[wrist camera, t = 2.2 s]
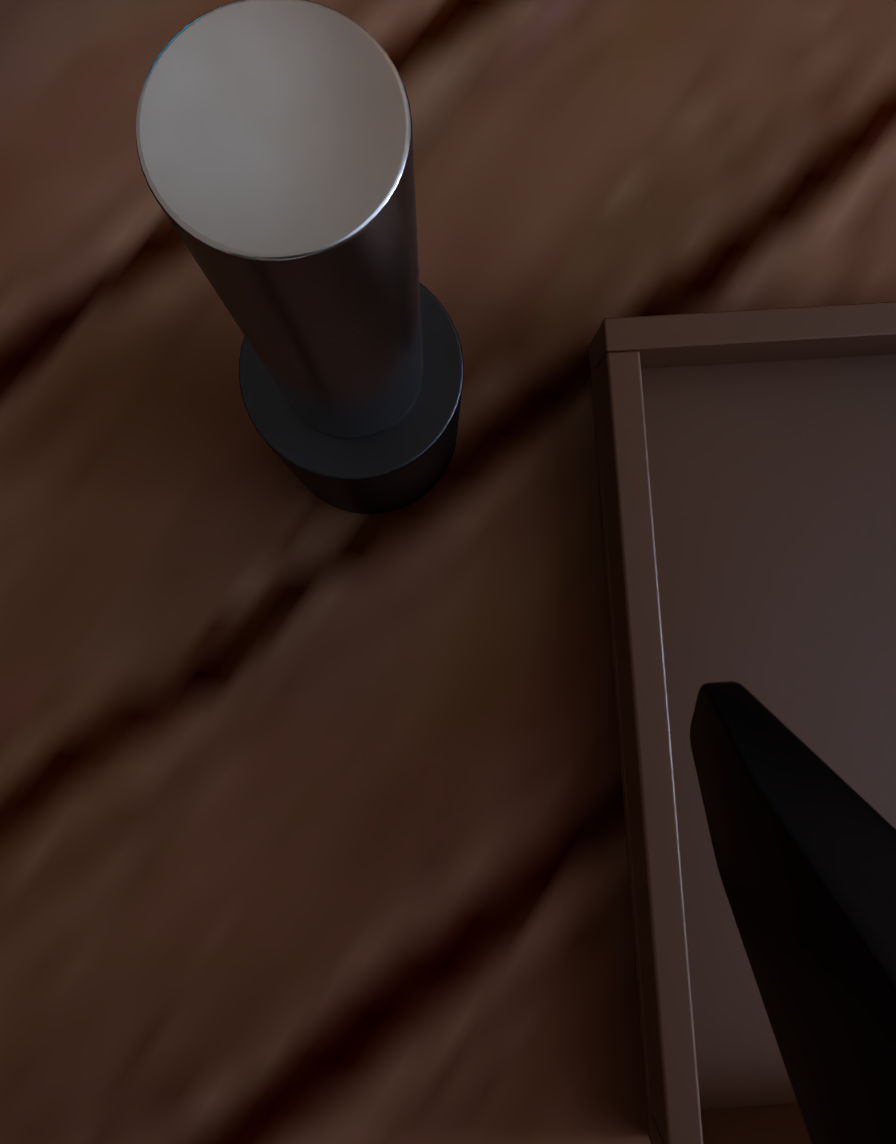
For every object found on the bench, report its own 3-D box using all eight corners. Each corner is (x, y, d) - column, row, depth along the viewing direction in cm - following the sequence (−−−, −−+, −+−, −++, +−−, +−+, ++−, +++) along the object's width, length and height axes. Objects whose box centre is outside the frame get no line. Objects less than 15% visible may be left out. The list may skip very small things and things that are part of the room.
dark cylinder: (462, 508, 21) (506, 325, 8) (288, 519, 21) (60, 350, 8) (451, 338, 22) (476, -92, 9) (279, 348, 22) (45, -72, 9)
